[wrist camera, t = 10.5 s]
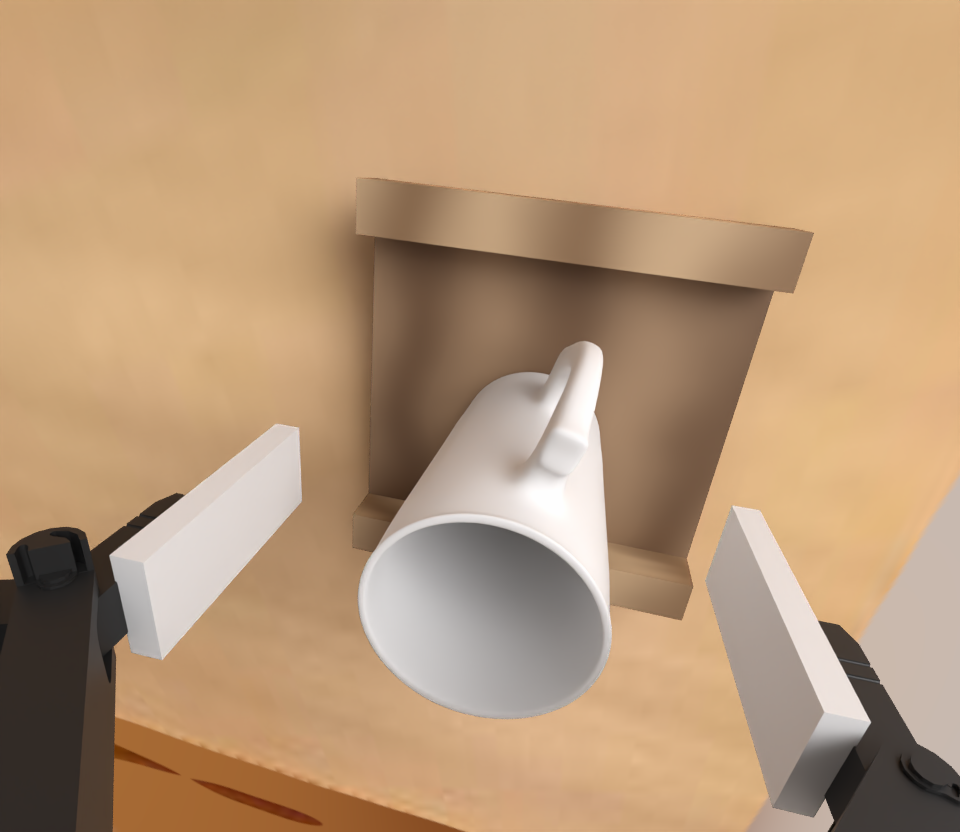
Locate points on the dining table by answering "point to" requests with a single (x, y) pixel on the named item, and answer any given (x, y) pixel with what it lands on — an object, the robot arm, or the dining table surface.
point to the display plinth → (561, 323)
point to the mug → (502, 553)
